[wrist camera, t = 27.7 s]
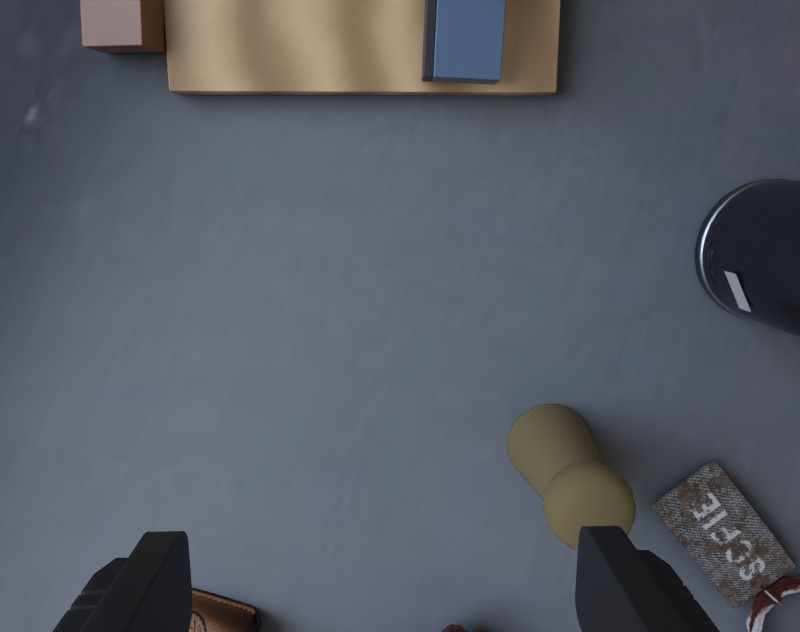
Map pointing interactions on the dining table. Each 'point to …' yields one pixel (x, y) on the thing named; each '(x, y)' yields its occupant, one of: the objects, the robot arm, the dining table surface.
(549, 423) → the olive game pawn
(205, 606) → the sunglasses case
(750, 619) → the keychain
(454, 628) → the brown piece
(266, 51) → the cutting board
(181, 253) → the dining table surface
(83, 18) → the block
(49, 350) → the dining table surface
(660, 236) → the dining table surface
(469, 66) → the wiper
